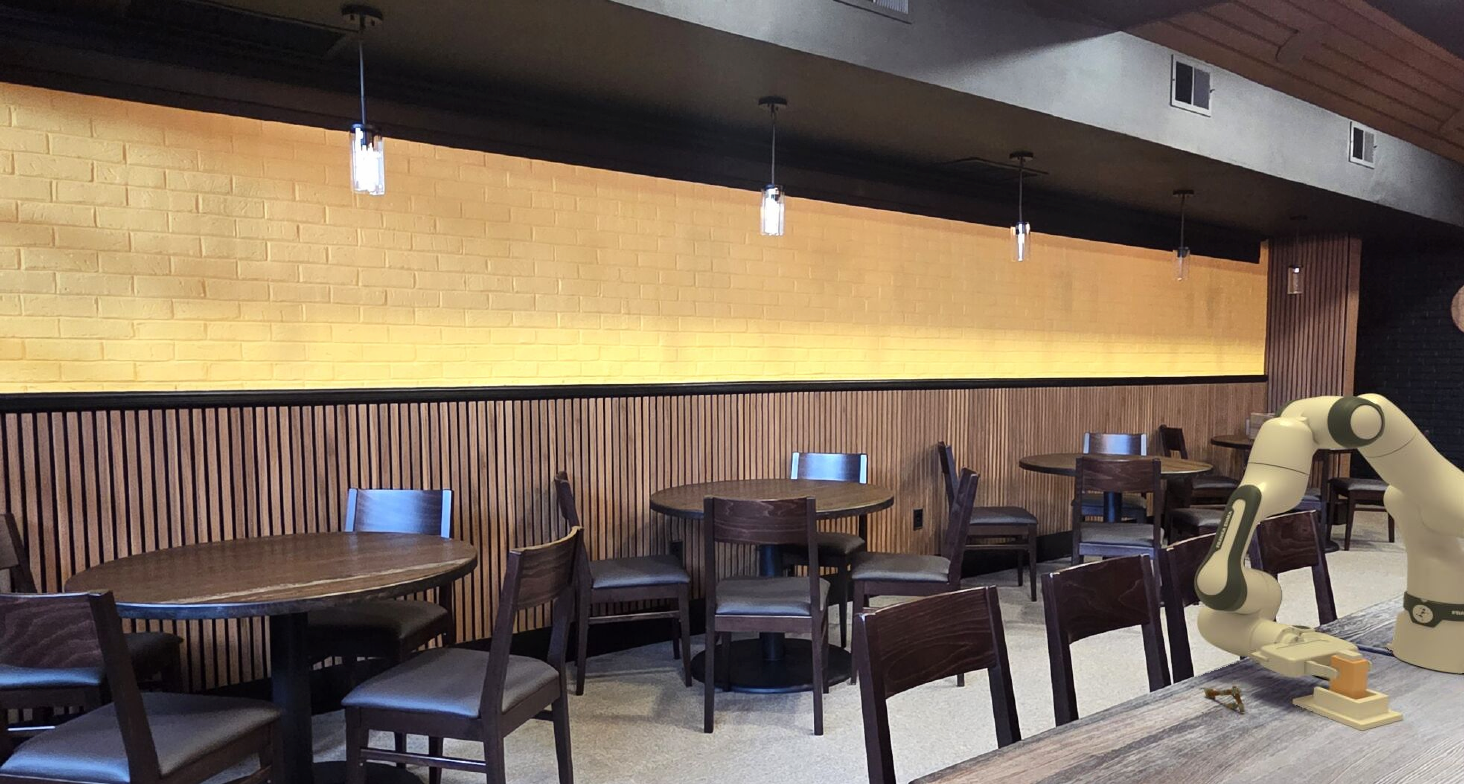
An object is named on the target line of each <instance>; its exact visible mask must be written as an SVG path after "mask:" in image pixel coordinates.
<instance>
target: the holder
mask: <svg viewBox="0 0 1464 784" xmlns="http://www.w3.org/2000/svg"><path fill="white" fill-rule="evenodd" d="M1389 703H1390V695H1387V694H1385V693H1382V692H1379V691H1375V690H1373V689H1370V688H1367V687H1366V697H1365V698H1361V699H1357V700H1355V699H1352V698H1349V697H1346V696H1343V695H1341V694H1338V693H1335V692H1332V691H1329V689H1326V688H1323V687H1321V686H1315V687H1314V688H1313V694H1310V695H1306V696H1300V697H1296V698H1293V699H1292V705H1293V704H1294V705H1293V706H1296V705H1298V706H1300V707H1299V708H1301V707H1302V709H1304V708H1306V709H1307V711H1310V712H1311V711H1313V712H1312V713H1315V714H1317V715H1319V714H1320V715H1319V716H1322V717H1324V716H1326V717H1325V718H1327V717H1328V719H1329V720H1332V719H1333V720H1332V721H1336V722H1337V723H1339V724H1340V723H1341V724H1343V725H1346V726H1349V727H1351V728H1354V729H1356V730H1359V731H1361V732H1362V731H1365V730H1370V729H1372V728H1376V727H1380V726H1384V725H1387V724H1388V725H1389V724H1391V723H1397V722H1399V721H1403V719H1404V718H1403V717H1404V714H1402V713H1401V712H1397V711H1395V710H1392V709H1390V708H1389ZM1298 706H1297V707H1298ZM1306 709H1305V710H1306Z"/></svg>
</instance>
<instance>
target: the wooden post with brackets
mask: <svg viewBox="0 0 1464 784" xmlns="http://www.w3.org/2000/svg"><path fill="white" fill-rule="evenodd" d="M1203 690H1204V695H1205V699H1207V700H1211V699H1216V697H1217V696H1221V697H1222V696H1232V698H1233V699H1234V700H1235V701H1236V702H1231V703H1230V702H1229V703H1226V704H1227V705H1226V707H1227V708H1228V709H1229V708H1230V709H1232V710H1237V709H1238V710H1239V712H1240V713H1246V709H1245V705H1244V703H1243V701H1242V698H1241V695H1240V694H1242V692H1243V689H1242V688H1241V687H1237V685H1232V687H1231V688H1230V689H1229V688H1228V689H1221V690H1214V688H1212V687H1211V688H1204V689H1203Z"/></svg>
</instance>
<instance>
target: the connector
mask: <svg viewBox="0 0 1464 784" xmlns="http://www.w3.org/2000/svg"><path fill="white" fill-rule="evenodd" d="M1363 656H1364V654H1362V653H1359V652H1358V653H1356V652H1353V651H1350V650H1347V649H1346V650H1341V651H1337V655H1334V656H1331V666H1332V667H1335V668H1338V669H1339V670H1340V677H1339V678H1336V679H1331V678H1330V680H1329V687H1328V688H1329V689H1328V690H1329V691H1332V692H1335V693H1338V694H1341V695H1343V696H1346V697H1349V698H1352V699H1355V700H1357V699H1361V698H1365V697H1366V688H1367V684H1368V671H1367V669H1368V661H1369V660H1367V659H1364V658H1363Z"/></svg>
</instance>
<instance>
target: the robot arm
mask: <svg viewBox="0 0 1464 784" xmlns="http://www.w3.org/2000/svg"><path fill="white" fill-rule="evenodd" d="M1344 448H1346V449H1357V450H1358V451H1359V453H1360V454H1361V455H1362V456H1363V457H1364V458H1365V459H1364V460H1366V461H1367V462H1368V463H1369V465H1370V466H1371V467H1372V468H1373V469H1374V470H1375V472H1376V473H1377V474H1378V476H1379V477H1380V478H1381V479H1382V480H1383V481H1384V482H1385V483H1386V484H1387V485H1388V486H1387V487H1386V489H1385V492H1384V494H1383V505H1384V508H1385V510H1386V512H1387V513H1388V514H1389V515H1390V516H1391V517H1392V519H1393V520H1394V521H1395V523H1396V525H1397V527H1398V529H1399V532H1400V534H1401V536H1402V537H1401V538H1402V539H1403V543H1404V547H1405V552H1406V559H1407V561H1406V562H1407V566H1406V567H1407V569H1406V571H1407V577H1406V590H1405V591H1404V593H1403V597H1402V602H1403V603H1402V608H1403V609H1404V610H1403V611H1401V612H1399V613H1397V614H1396V619H1395V625H1394V631H1393V637H1392V642H1387V643H1386V647H1387V648H1388V649H1389V650H1388V649H1387V648H1386V647H1385V648H1386V649H1387V650H1388V651H1390V650H1392V651H1393V652H1392V651H1391V652H1392V654H1393V656H1395V657H1396V658H1397V659H1399V660H1401V661H1403V662H1406V663H1409V664H1411V665H1415V666H1419V667H1422V668H1425V669H1429V670H1434V671H1438V672H1445V673H1452V674H1462V673H1464V550H1463V548H1462V546H1461V545H1460V541H1459V539H1464V471H1462V470H1461V469H1460V468H1458V467H1457V466H1455V465H1454V464H1453V463H1451V462H1450V461H1449V460H1448V459H1446V458H1445V457H1444V455H1441V453H1440V452H1438V451H1437V449H1435V447H1434V446H1433V445H1432V444H1431V443H1430V442H1429V440H1428V439H1427V438H1426V437H1425V435H1424V434H1423V433H1422V432H1421V431H1420V430H1419V429H1418V427H1417V426H1416V425H1415V424H1414V423H1413V421H1412V420H1411V419H1410V418H1409V417H1408V416H1407V415H1406V414H1405V413H1404V412H1403V411H1402V410H1401V409H1400V408H1399V407H1398V406H1396V405H1395V404H1394V403H1393V402H1392V401H1390V400H1389V399H1387V398H1386V397H1385V396H1383V395H1381V394H1377V393H1365V394H1360V395H1358V396H1354V395H1347V396H1346V395H1345V396H1340V395H1339V396H1337V395H1323V396H1322V395H1321V396H1316V397H1309V398H1308V397H1307V398H1295V399H1292V400H1288V401H1286V402H1284V403H1282V404H1281V405H1280V406H1279V407H1278V408H1277V409H1276V411H1275V412H1274V415H1273V416H1272V418H1269V419H1268V420H1266V421H1265V422H1264V423H1263V424H1262V425H1261V427H1260V429H1259V431H1258V433H1257V434H1256V436H1255V439H1254V442H1253V444H1252V448H1251V450H1250V454H1249V457H1248V460H1247V465H1246V469H1245V472H1244V475H1243V478H1242V480H1241V482H1240V483H1239V485H1238V487H1237V488H1235V490H1234V491H1233V492H1232V494H1231V495H1230V496H1229V498H1228V501H1227V503H1226V505H1225V507H1224V511H1223V514H1222V516H1221V518H1220V521H1219V523H1218V526H1217V529H1216V532H1215V534H1214V538H1213V541H1212V543H1211V545H1210V547H1209V551H1208V553H1207V555H1206V556H1205V558H1204V560H1202V562H1201V563H1200V565H1199V566H1198V568H1197V570H1196V572H1195V576H1194V590H1195V593H1196V596H1197V597H1198V600H1199V601H1200V602H1201V603H1202V604H1203V605H1204V606H1203V607H1202V608H1201V609H1200V610H1199V612H1198V614H1197V619H1196V620H1197V621H1196V623H1197V624H1196V625H1197V626H1196V627H1197V629H1198V632H1199V634H1200V636H1201V637H1202V638H1203V639H1204V641H1206V642H1207V643H1209V644H1210V645H1212V646H1213V647H1216V648H1218V649H1220V650H1221V651H1224V652H1227V653H1230V654H1232V655H1235V656H1238V657H1245V658H1249V659H1250V660H1252V661H1254V662H1255V663H1258V664H1260V666H1262V667H1264V668H1265V669H1267V670H1270V671H1272V672H1275V673H1276V674H1280V675H1281V676H1285V677H1289V678H1299V677H1303V676H1308V675H1311V676H1316V677H1317V676H1318V677H1319V676H1325V677H1328V678H1331V679H1336V678H1339V677H1340V670H1339V669H1338V668H1335V667H1332V666H1331V656H1334V655H1337V651H1341V650H1346V649H1347V650H1350V651H1353V652H1356V653H1359V647H1358V646H1357V645H1356V644H1354V643H1352V642H1350V641H1347V640H1346V639H1341V638H1339V637H1336V636H1333V635H1330V634H1327V633H1322V632H1318V631H1316V628H1315V627H1311V626H1308V625H1294V624H1293V625H1292V624H1287V623H1284V622H1283V623H1282V622H1277V621H1275V620H1276V617H1277V615H1278V613H1279V610H1280V607H1281V604H1282V600H1283V591H1282V587H1281V584H1280V583H1279V582H1278V580H1277V579H1276V578H1275V577H1274V576H1273V575H1272V574H1270V573H1268V572H1265V571H1263V570H1260V569H1259V570H1258V569H1255V568H1252V567H1247V566H1245V565H1244V564H1245V563H1244V561H1245V557H1246V555H1247V552H1248V549H1249V546H1250V544H1251V541H1252V538H1253V535H1254V533H1255V530H1256V528H1257V526H1258V524H1259V523H1260V522H1261V521H1263V520H1264V519H1266V518H1267V517H1270V516H1273V515H1278V514H1281V513H1285V512H1286V513H1287V511H1290V510H1292V509H1294V508H1295V507H1297V506H1299V504H1300V503H1301V501H1302V500H1303V498H1304V496H1305V493H1306V491H1307V487H1308V483H1309V479H1310V478H1309V477H1310V474H1311V468H1312V461H1313V456H1314V455H1315V453H1316V452H1317V451H1318V450H1320V449H1321V450H1329V449H1330V450H1332V449H1344ZM1458 538H1459V539H1458ZM1372 670H1373V663H1372V662H1371V661H1370V660H1368V669H1367V672H1370V671H1371V672H1372Z"/></svg>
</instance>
